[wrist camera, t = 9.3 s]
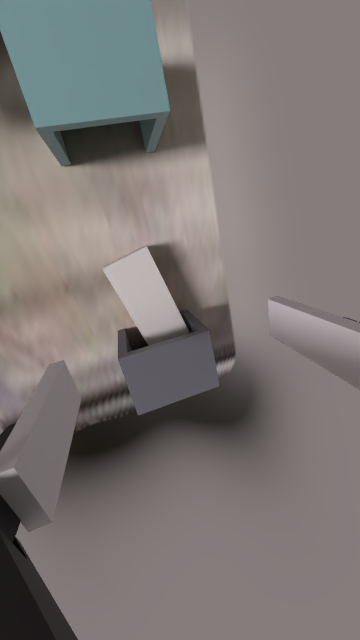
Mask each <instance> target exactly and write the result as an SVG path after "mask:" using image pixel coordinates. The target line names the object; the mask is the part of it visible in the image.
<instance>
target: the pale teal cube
mask: <svg viewBox="0 0 360 640" xmlns="http://www.w3.org/2000/svg"><path fill="white" fill-rule="evenodd" d="M0 31H1V34H2V37H3V40H4V42H5V45H6V48H7V51H8V54H9V56H10V59H11V62H12V65H13V68H14V70H15V73H16V76H17V79H18V81H19V84H20V87H21V90H22V93H23V95H24V98H25V101H26V104H27V107H28V109H29V112H30V115H31V118H32V121H33V123H34V126H35V128H36V130H37V131H38V133H39V134H40V136H41V137H42V139H43V140H44V141H45V143H46V144H47V146H48V147H49V149H50V150H51V152H52V153H53V154H54V156H55V157H56V159H57V160H58V162H59V163H60V165H61V166H66V165H71V163H70V160H69V157H68V154H67V151H66V148H65V145H64V141H63V138H62V135H61V132H60V131H63V130H71V129H78V128H86V127H94V126H101V125H109V124H117V123H124V122H132V121H139V122H140V127H141V131H142V136H143V140H144V145H145V149H146V153H149V152H155V149H156V147H157V144H158V142H159V139H160V136H161V134H162V131H163V129H164V126H165V124H166V121H167V118H168V116H169V113H170V106H169V100H168V95H167V89H166V84H165V78H164V72H163V67H162V61H161V56H160V50H159V44H158V39H157V33H156V28H155V22H154V16H153V11H152V5H151V0H0Z"/></svg>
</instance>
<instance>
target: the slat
mask: <svg viewBox="0 0 360 640" xmlns="http://www.w3.org/2000/svg"><path fill="white" fill-rule="evenodd" d="M103 271H104V273H105V274H106V276H107V278H108V279H109V281H110V282H111V284H112V286H113V287H114V289H115V291H116V292H117V294H118V296H119V297H120V299H121V301H122V302H123V304H124V306H125V307H126V309H127V311H128V312H129V314H130V316H131V317H132V319H133V321H134V322H135V324H136V326H137V327H138V329H139V331H140V332H141V334H142V336H143V337H144V339H145V341H146V342H147V344H148V346H150V345H153V344H156V343H160V342H163V341H166V340H169V339H172V338H176V337H179V336H182V335H185V334H189V333H190V332H189V330H188V328H187V326H186V324H185V322H184V320H183V318H182V316H181V314H180V312H179V310H178V308H177V306H176V304H175V302H174V300H173V298H172V296H171V294H170V292H169V290H168V288H167V286H166V284H165V282H164V280H163V278H162V276H161V274H160V272H159V270H158V268H157V266H156V264H155V262H154V260H153V258H152V256H151V254H150V252H149V250H148V248H147V246H143V247H141V248H139V249H137V250H135V251H133V252H131V253H129V254H127V255H125V256H123V257H121V258H119V259H117V260H115V261H113V262H111V263H109V264H107V265H105V266H104V267H103Z"/></svg>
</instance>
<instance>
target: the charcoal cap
mask: <svg viewBox="0 0 360 640" xmlns="http://www.w3.org/2000/svg"><path fill="white" fill-rule="evenodd" d="M181 314H182V318H183V320H184V322H185V324H186V326H187V328H188V330H189V332H190V333H189V334H185V335H182V336H179V337H176V338H172V339H169V340H166V341H163V342H160V343H156V344H153V345H150V346H147V347H143V348H140V349H137V350H134V351H132V349H131V346H130V343H129V340H128V337H127V334H126V331H125V329H123V330H119V331H118V361H119V363H120V366H121V369H122V372H123V374H124V377H125V380H126V383H127V386H128V388H129V391H130V394H131V397H132V400H133V402H134V405H135V408H136V411H137V413H138V415H141V414H143V413H146V412H149V411H152V410H154V409H157V408H160V407H163V406H165V405H168V404H171V403H174V402H177V401H179V400H182V399H185V398H188V397H190V396H193V395H196V394H198V393H201V392H204V391H207V390H209V389H212V388H215V387H218V386H219V381H218V375H217V370H216V364H215V359H214V353H213V347H212V342H211V336H210V331H209V330H208V329H207V328H206V327H205V326H204V325H203V324H202V323H201V322H200V321H198V320H197V319H196V318H195V317H194V316H193V315H192V314H191V313H190V312H189V311H184V312H181Z"/></svg>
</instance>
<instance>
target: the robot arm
mask: <svg viewBox="0 0 360 640" xmlns="http://www.w3.org/2000/svg"><path fill="white" fill-rule="evenodd" d="M268 310H269V327H270V336H272V337H273V338H275V339H276V340H278V341H280V342H281V343H283V344H285V345H286V346H288V347H290V348H291V349H293V350H295V351H296V352H298V353H300V354H301V355H303V356H305V357H306V358H308V359H310V360H311V361H313V362H314V363H316V364H318V365H320V366H321V367H323V368H324V369H326V370H328V371H329V372H331V373H333V374H334V375H336V376H338V377H339V378H341V379H343V380H344V381H346V382H348V383H349V384H351V385H353V386H354V387H356V388H358V389H359V390H360V322H357V321H355V320H352V319H349V318H345V317H340V316H337V315H334V314H331V313H328V312H325V311H322V310H319V309H316V308H313V307H309V306H307V305H304V304H301V303H298V302H295V301H291V300H288V299H285V298H282V297H279V296H277V297H273V298H270V299H268ZM80 402H81V396H80V394H79V392H78V390H77V388H76V385H75V383H74V381H73V379H72V377H71V375H70V373H69V370H68V368H67V366H66V364H65V362H64V360H63V361H59V362H56V363H53V364H50V365H49V366H48V368H47V370H46V372H45V373H44V375H43V377H42V379H41V380H40V382H39V384H38V386H37V388H36V389H35V391H34V393H33V395H32V396H31V398H30V400H29V402H28V403H27V405H26V407H25V409H24V411H23V412H22V414H21V416H20V418H19V419H18V421H17V423H15V424H12V425H9V426H8V427H7V428H6V429H5V430H4V431H3V432H2V433H1V435H0V640H78V639H77V637H76V636H75V634H74V632H73V631H72V629H71V627H70V626H69V624H68V622H67V621H66V619H65V617H64V615H63V614H62V612H61V610H60V609H59V607H58V606H57V604H56V602H55V600H54V599H53V597H52V595H51V594H50V592H49V590H48V588H47V587H46V585H45V584H44V582H43V580H42V578H41V577H40V575H39V573H38V572H37V570H36V568H35V567H34V565H33V563H32V562H31V560H30V558H29V557H28V555H27V553H26V551H25V550H24V548H23V546H22V545H21V543H20V541H19V540H18V539H17V538H16V537H15V535H16V532H17V530H18V527H19V524H20V522H21V523H22V525H23V526H24V527H25V528H26V529H27V531H28V532H29V531H32V530H34V529H36V528H39V527H41V526H44V525H46V524H49V523H51V522H52V521H53V517H54V512H55V509H56V504H57V500H58V496H59V491H60V487H61V483H62V479H63V474H64V470H65V466H66V462H67V458H68V453H69V449H70V445H71V441H72V436H73V432H74V428H75V424H76V419H77V415H78V411H79V407H80Z"/></svg>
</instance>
